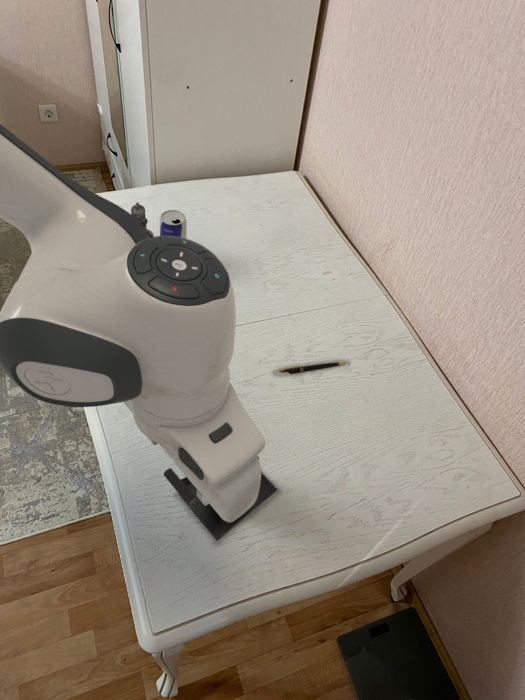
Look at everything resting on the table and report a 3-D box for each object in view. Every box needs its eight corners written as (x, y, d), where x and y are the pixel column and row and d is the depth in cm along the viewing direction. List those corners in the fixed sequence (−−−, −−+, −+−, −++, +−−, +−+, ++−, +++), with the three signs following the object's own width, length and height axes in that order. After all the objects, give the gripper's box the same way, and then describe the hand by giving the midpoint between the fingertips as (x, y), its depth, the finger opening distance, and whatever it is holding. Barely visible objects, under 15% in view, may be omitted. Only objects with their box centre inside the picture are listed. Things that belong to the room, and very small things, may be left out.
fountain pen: (344, 362, 97) (346, 357, 96) (346, 367, 96) (348, 362, 95) (273, 373, 93) (274, 368, 92) (275, 378, 92) (276, 373, 91)
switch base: (216, 543, 72) (221, 506, 62) (178, 496, 76) (177, 455, 66) (276, 492, 78) (289, 452, 68) (238, 452, 82) (246, 408, 72)
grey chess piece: (125, 242, 112) (120, 194, 103) (152, 239, 114) (149, 193, 105) (129, 259, 108) (124, 211, 99) (156, 256, 110) (154, 209, 101)
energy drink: (170, 275, 107) (168, 228, 98) (156, 261, 109) (154, 214, 100) (191, 266, 109) (191, 220, 100) (177, 252, 112) (177, 206, 103)
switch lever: (185, 509, 60) (192, 497, 59) (160, 479, 62) (166, 466, 61) (248, 475, 69) (256, 464, 68) (225, 450, 71) (232, 438, 70)
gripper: (89, 344, 49) (106, 420, 60) (223, 497, 41) (215, 554, 51) (144, 316, 52) (150, 393, 63) (279, 453, 44) (260, 515, 54)
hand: (180, 466), depth 57 cm, fingers open, 8 cm apart
